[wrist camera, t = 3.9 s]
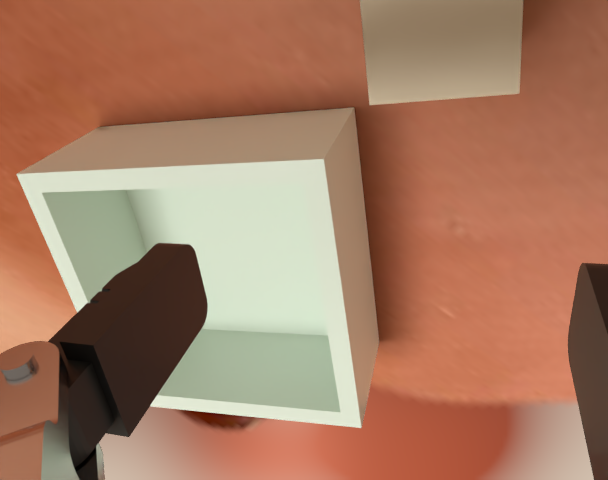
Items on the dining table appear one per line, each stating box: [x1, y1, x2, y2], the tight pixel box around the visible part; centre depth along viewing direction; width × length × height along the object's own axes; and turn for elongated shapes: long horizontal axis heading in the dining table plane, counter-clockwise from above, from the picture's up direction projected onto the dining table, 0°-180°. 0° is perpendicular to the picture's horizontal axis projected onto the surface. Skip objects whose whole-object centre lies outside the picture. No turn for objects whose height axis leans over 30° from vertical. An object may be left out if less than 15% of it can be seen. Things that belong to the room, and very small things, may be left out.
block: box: [360, 0, 523, 105], centre depth 20 cm, size 5×5×7 cm
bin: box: [17, 107, 379, 428], centre depth 29 cm, size 15×15×7 cm
